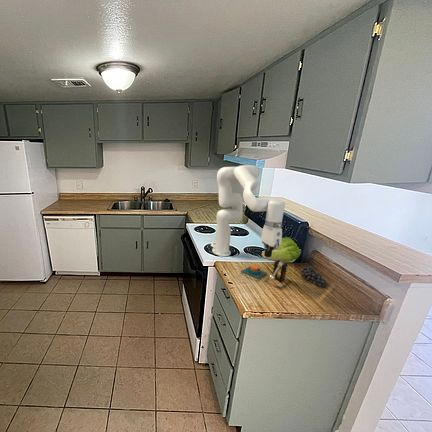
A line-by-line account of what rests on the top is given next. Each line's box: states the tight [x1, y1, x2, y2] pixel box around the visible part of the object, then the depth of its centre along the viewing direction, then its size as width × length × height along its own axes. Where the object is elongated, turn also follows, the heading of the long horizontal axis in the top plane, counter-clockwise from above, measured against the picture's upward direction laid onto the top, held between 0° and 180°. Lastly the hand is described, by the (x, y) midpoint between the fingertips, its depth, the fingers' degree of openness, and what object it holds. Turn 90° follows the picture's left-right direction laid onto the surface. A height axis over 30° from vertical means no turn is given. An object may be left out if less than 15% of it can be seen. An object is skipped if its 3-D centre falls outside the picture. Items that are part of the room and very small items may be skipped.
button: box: [250, 264, 259, 271], centre depth 140 cm, size 4×4×2 cm
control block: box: [240, 265, 267, 280], centre depth 141 cm, size 10×10×4 cm
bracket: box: [272, 260, 289, 284], centre depth 133 cm, size 12×9×12 cm
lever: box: [268, 262, 285, 282], centre depth 130 cm, size 13×3×3 cm, turn 128°
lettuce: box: [261, 236, 302, 263], centre depth 160 cm, size 15×25×16 cm
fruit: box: [299, 265, 329, 289], centre depth 132 cm, size 9×8×15 cm
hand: (267, 256), depth 129 cm, fingers closed
